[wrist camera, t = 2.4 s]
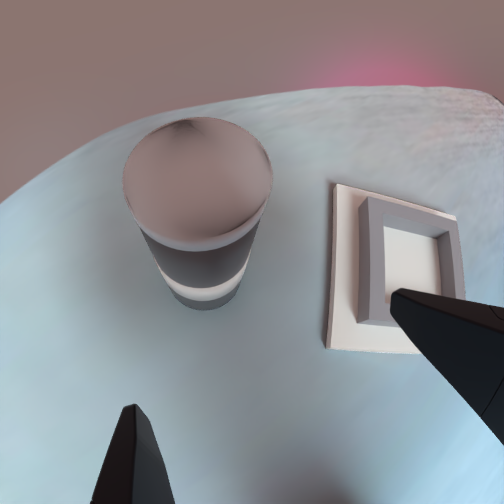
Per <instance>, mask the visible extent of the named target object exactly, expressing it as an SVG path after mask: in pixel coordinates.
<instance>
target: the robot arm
mask: <svg viewBox="0 0 504 504" xmlns="http://www.w3.org/2000/svg"><path fill="white" fill-rule="evenodd" d="M390 314H391V316H392V317H393V319H394V320H395V321H396V322H397V324H398V325H399V326H400V328H401V329H402V330H403V331H404V333H405V334H406V335H407V337H408V338H409V339H410V340H411V342H412V343H413V344H414V345H415V346H416V348H417V349H418V350H419V351H420V352H421V353H422V354H423V355H424V356H425V357H426V358H427V359H428V360H429V361H430V362H431V364H432V365H433V366H434V367H435V368H436V369H437V370H438V371H439V372H440V373H441V374H442V375H443V376H444V378H445V379H446V380H447V381H448V382H449V383H450V384H451V385H452V386H453V387H454V389H455V390H456V391H457V392H458V393H459V394H460V395H461V396H462V397H463V399H464V400H465V401H466V402H467V403H468V404H469V405H470V406H471V408H472V409H473V410H474V411H475V412H476V413H477V414H478V416H479V417H480V418H481V419H482V420H483V421H484V423H485V424H486V425H487V426H488V427H489V428H490V430H491V431H492V432H493V433H494V434H495V436H496V437H497V438H498V439H499V440H500V442H501V443H502V444H503V445H504V308H503V307H497V306H492V305H487V304H482V303H477V302H471V301H466V300H461V299H456V298H451V297H446V296H441V295H436V294H431V293H426V292H421V291H416V290H411V289H406V288H399V289H397V290H395V291H394V292H392V294H391V301H390ZM90 504H175V501H174V498H173V494H172V490H171V487H170V483H169V479H168V475H167V471H166V467H165V464H164V461H163V458H162V455H161V453H160V450H159V447H158V444H157V441H156V438H155V435H154V432H153V429H152V426H151V423H150V421H149V419H148V418H147V416H146V415H145V414H144V413H143V411H142V410H141V409H140V407H139V406H138V405H137V404H131V405H128V406H125V407H124V408H123V409H122V412H121V415H120V417H119V420H118V423H117V426H116V428H115V431H114V434H113V436H112V439H111V442H110V445H109V448H108V450H107V453H106V456H105V459H104V462H103V465H102V468H101V471H100V474H99V477H98V480H97V483H96V486H95V489H94V492H93V495H92V500H91V502H90Z"/></svg>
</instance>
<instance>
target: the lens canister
mask: <svg viewBox="0 0 504 504" xmlns="http://www.w3.org/2000/svg"><path fill="white" fill-rule="evenodd" d="M122 181H123V192H124V196H125V199H126V202H127V204H128V206H129V209H130V211H131V213H132V215H133V217H134V219H135V221H136V222H137V224H138V225H139V227H140V229H141V231H142V233H143V235H144V238H145V240H146V242H147V244H148V246H149V248H150V250H151V252H152V254H153V257H154V260H155V262H156V264H157V266H158V268H159V270H160V272H161V274H162V275H163V277H164V279H165V281H166V282H167V284H168V285H169V287H170V289H171V291H172V293H173V294H174V296H175V297H176V298H177V299H178V300H179V301H180V302H181V303H183V304H184V305H186V306H188V307H190V308H193V309H196V310H212V309H216V308H218V307H221V306H223V305H224V304H226V303H227V302H228V301H229V300H231V299H232V297H233V296H234V295H235V293H236V292H237V290H238V287H239V284H240V281H241V278H242V276H243V274H244V271H245V268H246V265H247V262H248V259H249V256H250V252H251V247H252V243H253V240H254V237H255V234H256V231H257V228H258V224H259V221H260V218H261V216H262V214H263V212H264V209H265V207H266V204H267V201H268V198H269V194H270V191H271V188H272V181H273V172H272V166H271V162H270V159H269V156H268V154H267V152H266V151H265V149H264V147H263V146H262V145H261V143H260V142H259V141H258V140H257V139H256V138H255V137H254V136H253V135H251V134H250V133H249V132H248V131H246V130H244V129H243V128H241V127H239V126H237V125H235V124H233V123H230V122H227V121H224V120H220V119H215V118H206V117H196V118H186V119H181V120H177V121H173V122H171V123H168V124H165V125H163V126H161V127H159V128H157V129H156V130H154V131H152V132H151V133H149V134H148V135H147V136H146V137H144V138H143V139H142V140H141V141H140V142H139V143H138V144H137V146H136V147H135V148H134V149H133V151H132V152H131V154H130V156H129V158H128V160H127V162H126V165H125V168H124V172H123V180H122Z"/></svg>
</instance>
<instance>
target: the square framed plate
mask: <svg viewBox="0 0 504 504" xmlns="http://www.w3.org/2000/svg"><path fill="white" fill-rule="evenodd" d="M399 288H406V289H411V290H416V291H421V292H426V293H431V294H436V295H441V296H446V297H451V298H456V299H461V300H466V298H465V283H464V272H463V262H462V254H461V246H460V239H459V232H458V226H457V221H456V217H455V216H452V215H449V214H446V213H443V212H439V211H436V210H433V209H430V208H426V207H423V206H420V205H416V204H413V203H409V202H406V201H402V200H399V199H395V198H392V197H388V196H384V195H381V194H377V193H373V192H369V191H365V190H361V189H357V188H353V187H349V186H345V185H341V184H336V186H335V187H334V189H333V241H332V268H331V287H330V303H329V317H328V330H327V341H326V349H334V350H346V351H360V352H376V353H398V354H422V353H421V352H420V351H419V350H418V349H417V348H416V346H415V345H414V344H413V343H412V342H411V340H410V339H409V338H408V337H407V335H406V334H405V333H404V331H403V330H402V329H401V328H400V326H399V325H398V324H397V322H396V321H395V320H394V319H393V317H392V316H391V314H390V301H391V294H392V292H394V291H395V290H397V289H399Z"/></svg>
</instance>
